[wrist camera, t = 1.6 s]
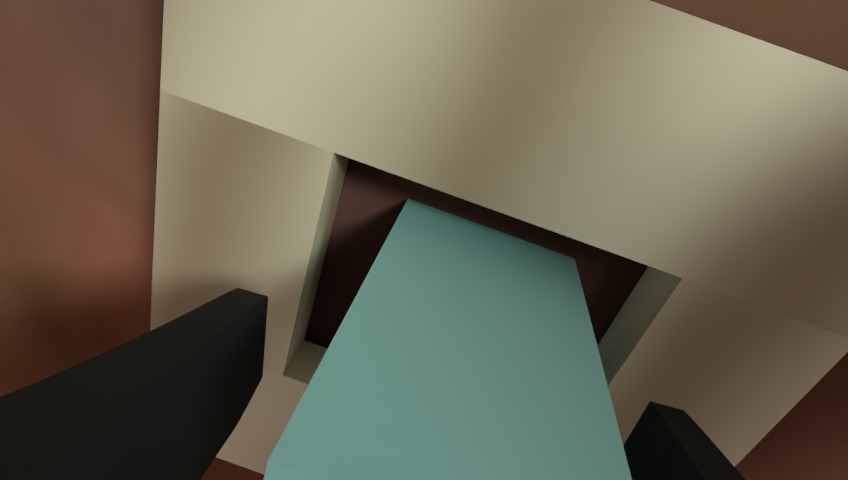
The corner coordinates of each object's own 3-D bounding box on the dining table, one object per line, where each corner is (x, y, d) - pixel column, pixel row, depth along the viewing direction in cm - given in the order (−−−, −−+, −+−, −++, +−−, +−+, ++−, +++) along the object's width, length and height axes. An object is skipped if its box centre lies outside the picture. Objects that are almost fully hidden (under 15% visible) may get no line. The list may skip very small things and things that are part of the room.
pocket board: (970, 124, 8) (1051, 144, 7) (596, 549, 15) (605, 598, 14) (221, -144, 8) (171, -172, 7) (176, 396, 15) (145, 431, 14)
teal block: (574, 258, 11) (663, 605, 4) (507, 381, 13) (504, 748, 6) (408, 198, 11) (267, 461, 4) (365, 330, 13) (224, 645, 6)
